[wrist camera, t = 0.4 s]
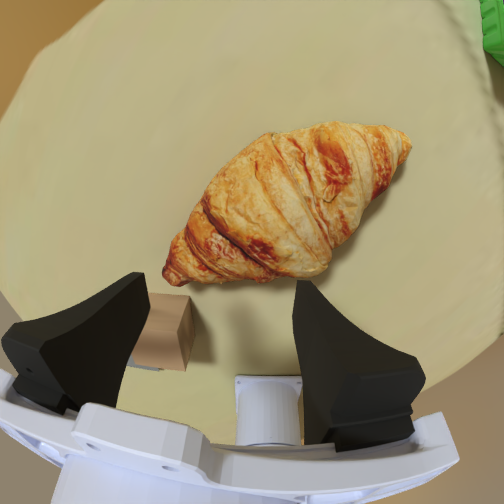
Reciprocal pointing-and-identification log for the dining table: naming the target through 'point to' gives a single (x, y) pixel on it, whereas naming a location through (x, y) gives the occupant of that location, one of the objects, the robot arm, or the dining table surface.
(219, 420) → the dining table surface
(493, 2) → the fruit basket
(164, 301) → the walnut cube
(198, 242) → the croissant
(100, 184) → the dining table surface
